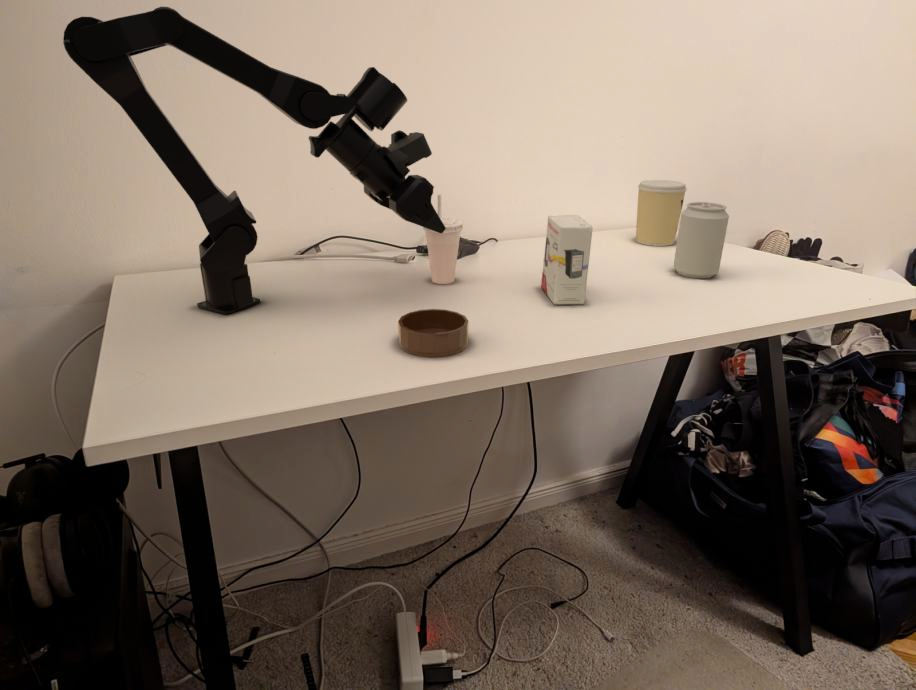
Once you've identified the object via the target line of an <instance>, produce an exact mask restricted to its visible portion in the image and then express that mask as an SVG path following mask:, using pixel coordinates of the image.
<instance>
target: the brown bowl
mask: <svg viewBox="0 0 916 690" xmlns="http://www.w3.org/2000/svg"><path fill="white" fill-rule="evenodd" d="M469 323H470V322H469V319H468V317H466V315H464V314H462V313H460V312H458V311H454V310H450V309H441V308H428V309H419V310H415V311H409V312H407V313H405V314H404V315H401V316H400V317H399V319H398V321H397V326H398V327H397V329H398V342H399V347H400V348H401V349H402V350H403V351H404V352H406V353H408V354H410V355H413V356H418V357H425V358H426V357H427V358H439V357H448V356H452V355H456V354H459V353H461V352H462V351H464V350H465V349H466V348H467V347H468V344H469Z"/></svg>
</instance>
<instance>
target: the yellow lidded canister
mask: <svg viewBox="0 0 916 690" xmlns="http://www.w3.org/2000/svg"><path fill="white" fill-rule="evenodd" d="M686 186H687V185H686V183H685V182H681V181H676V180H668V179H667V180H666V179H647V180H641V181H640V182H639V184H638V186H637V189H638V193H637V194H638V195H637V208H636V209H637V210H636V224H635V225H636V227H635V241H636V242H637V243H639V244H642V245H646V246H651V247H653V246H655V247H666V246H668V247H669V246H672V245H674V243H675V240H676V236H677V231H678V229H679V224H680V220H681V213H682V211H683V210H682V209H683V205H684V200H685V195H686V192H687V190H688V189H687V187H686Z"/></svg>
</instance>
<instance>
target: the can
mask: <svg viewBox="0 0 916 690" xmlns="http://www.w3.org/2000/svg"><path fill="white" fill-rule="evenodd" d="M726 209H727V206H726V205H725V204H722V203H716V202H707V201H705V202H704V201H693V202H689V203H687V204H686V208H685V209H683V210H682V211H681V214H680V219H679V225H678V233H677V239H676V246H675V252H674V259H673V265H672V268H673V269H674V270H675V271H676V273H677V274H678V275H679V276H683V277H685V278H689V279H690V278H691V279H711V278H713V276H715V275H716V274H718V273H719V271H720V266H721V261H722V255H723V251H724V245H725V241H726V235H727V228H728V224H729V219H730V215H729V214H728V212H727V211H726Z"/></svg>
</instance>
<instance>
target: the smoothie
mask: <svg viewBox="0 0 916 690" xmlns="http://www.w3.org/2000/svg"><path fill="white" fill-rule="evenodd" d="M437 214H438V216H439V217H440V219H441V221H442V223H443V224H444V226H445V228H446V229H445V230H444V232H443V233H438V232H436V231H433V230H430V229H428V228H425V227H422V229H423V230H424V231H425V240H426V246H427V252H428V253H427V254H428V261H429V270H430V276H431V282H432V283H434V284H438V285H447V284H452V283H454V282H455V276H456V269H457V262H458V254H459V245H460V239H461V238H460V237H461V233H462V231H463V229H464V228H463V222H462V221H461V220H458V219H453V218H442V194H437Z"/></svg>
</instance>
